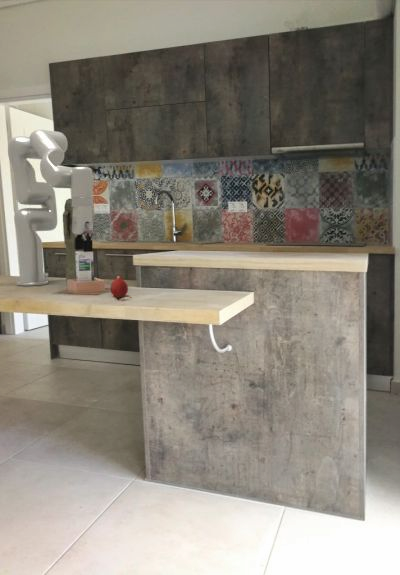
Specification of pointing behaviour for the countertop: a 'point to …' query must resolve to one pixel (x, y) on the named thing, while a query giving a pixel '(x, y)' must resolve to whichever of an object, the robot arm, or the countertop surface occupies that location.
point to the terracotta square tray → (86, 286)
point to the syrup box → (84, 266)
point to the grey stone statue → (69, 241)
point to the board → (82, 293)
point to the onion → (119, 288)
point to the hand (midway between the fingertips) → (83, 250)
